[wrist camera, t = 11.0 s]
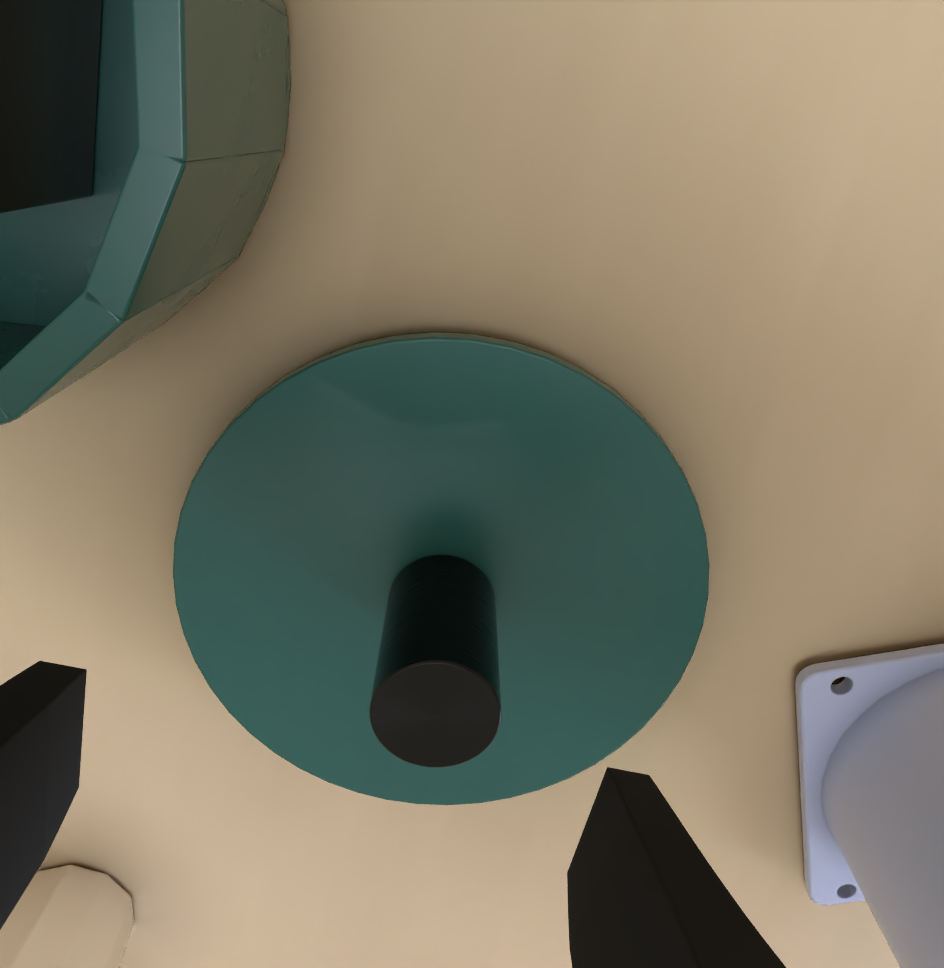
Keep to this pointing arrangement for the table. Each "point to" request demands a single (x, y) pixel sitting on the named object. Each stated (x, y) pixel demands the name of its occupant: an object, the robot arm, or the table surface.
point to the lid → (441, 569)
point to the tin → (147, 188)
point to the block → (47, 100)
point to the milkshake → (68, 922)
